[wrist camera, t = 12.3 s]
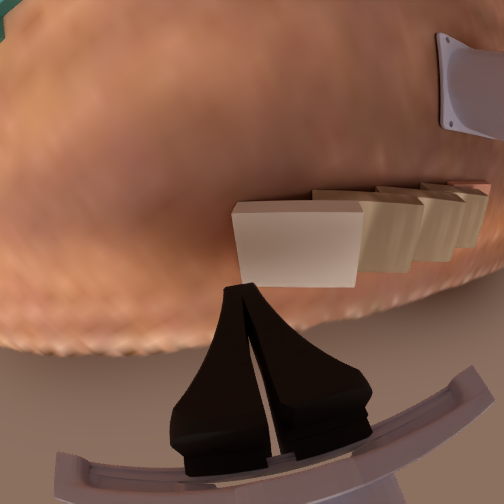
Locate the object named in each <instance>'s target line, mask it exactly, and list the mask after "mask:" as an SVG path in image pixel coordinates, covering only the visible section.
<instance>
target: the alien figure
mask: <svg viewBox="0 0 504 504" xmlns="http://www.w3.org/2000/svg"><path fill="white" fill-rule="evenodd" d="M21 1H22V0H0V42H1V41H2V40H4V39H5V35H4V26H3V17H4V16H5V15H6V14H7V13H8V12H9V11H10V10H11V9H13V8H14V7H15V6H16V5H17V4H18V3H20V2H21Z"/></svg>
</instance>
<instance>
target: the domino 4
mask: <svg viewBox="0 0 504 504" xmlns="http://www.w3.org/2000/svg"><path fill="white" fill-rule="evenodd" d="M419 190H427V191H436V192H444V193H451V194H457V195H458V196H459V197H461V198H462V199H463V200H464V201H465V202H466V208H465V212H464V216H463V220H462V224H461V228H460V231H459V235H458V238H457V242H456V245H455V248H474V247H475V246H476V243H477V240H478V236H479V233H480V230H481V226H482V223H483V219H484V216H485V212H486V208H487V204H488V199H489V196H488V195H486V194H485V193H483V192H482V191H481V190H479V189H473V188H466V187H458V186H449V185H440V184H430V183H420V189H419Z"/></svg>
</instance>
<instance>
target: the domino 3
mask: <svg viewBox="0 0 504 504" xmlns="http://www.w3.org/2000/svg"><path fill="white" fill-rule="evenodd" d="M447 185H449V186H458V187H466V188H473V189H479V190H481V191H482V192H483V193H485V194H486V195H488V196H489V193H490V188H491V184H490V183H488V182H486V181H447Z"/></svg>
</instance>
